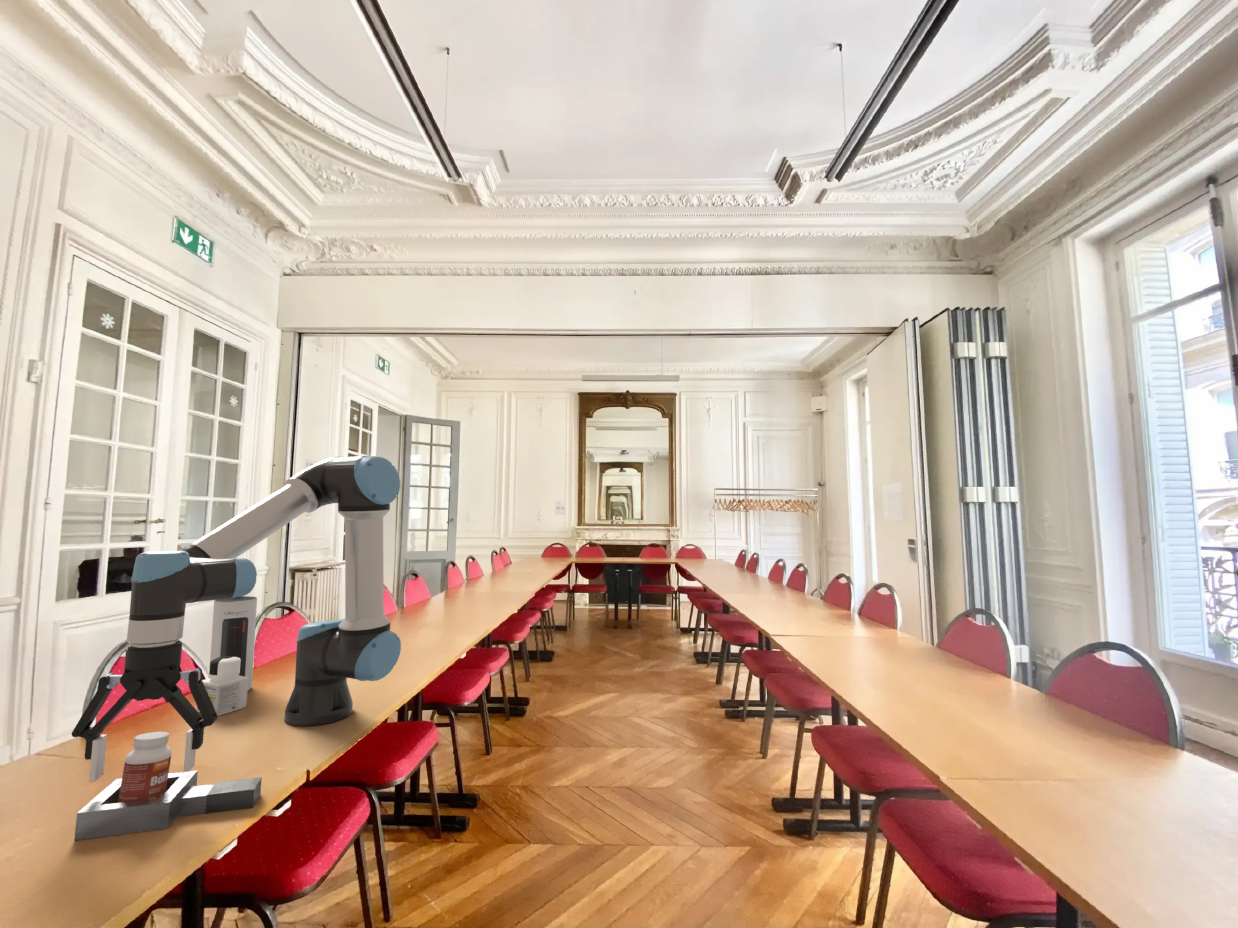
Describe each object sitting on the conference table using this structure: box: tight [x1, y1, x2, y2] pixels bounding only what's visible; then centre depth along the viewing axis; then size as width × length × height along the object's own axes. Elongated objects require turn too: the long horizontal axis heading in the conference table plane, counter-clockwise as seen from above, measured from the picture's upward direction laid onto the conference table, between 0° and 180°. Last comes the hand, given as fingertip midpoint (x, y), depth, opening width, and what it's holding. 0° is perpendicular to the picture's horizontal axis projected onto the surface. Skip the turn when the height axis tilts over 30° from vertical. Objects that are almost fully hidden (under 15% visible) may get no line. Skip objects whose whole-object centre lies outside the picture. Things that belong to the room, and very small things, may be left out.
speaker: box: [208, 595, 258, 692], centre depth 163 cm, size 11×10×26 cm
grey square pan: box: [73, 770, 262, 841], centre depth 98 cm, size 23×12×4 cm, turn 109°
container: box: [196, 656, 248, 717], centre depth 147 cm, size 8×8×13 cm
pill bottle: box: [118, 731, 172, 803], centre depth 97 cm, size 6×6×11 cm
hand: (143, 773), depth 96 cm, fingers open, 12 cm apart
